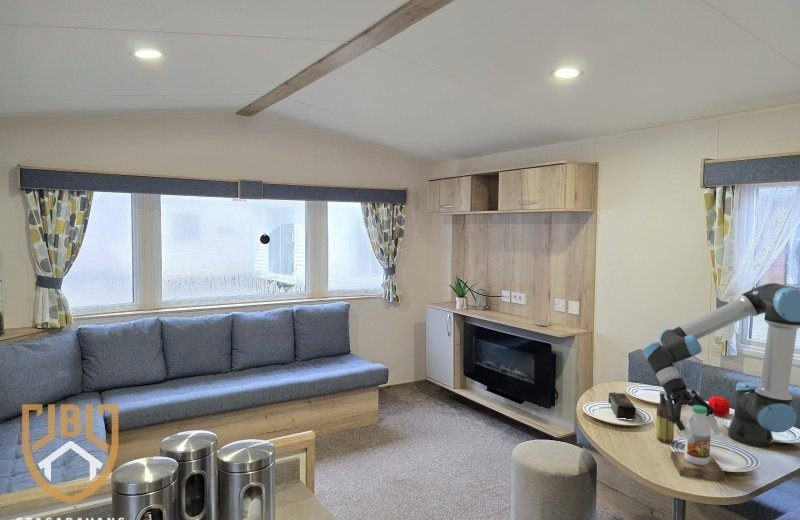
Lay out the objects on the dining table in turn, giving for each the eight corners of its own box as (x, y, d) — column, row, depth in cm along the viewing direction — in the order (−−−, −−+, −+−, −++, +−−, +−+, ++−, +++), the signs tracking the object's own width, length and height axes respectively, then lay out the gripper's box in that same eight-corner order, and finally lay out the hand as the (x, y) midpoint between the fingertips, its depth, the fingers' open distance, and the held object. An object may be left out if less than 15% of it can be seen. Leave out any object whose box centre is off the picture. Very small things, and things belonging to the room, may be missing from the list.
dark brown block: (625, 405, 246) (626, 392, 245) (635, 421, 227) (636, 407, 226) (607, 404, 247) (608, 390, 246) (616, 420, 228) (617, 405, 228)
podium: (712, 462, 190) (712, 454, 190) (725, 481, 176) (725, 472, 176) (670, 457, 194) (670, 449, 193) (680, 475, 180) (680, 467, 180)
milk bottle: (679, 457, 187) (682, 404, 185) (695, 454, 190) (698, 401, 188) (698, 467, 180) (701, 412, 178) (714, 463, 182) (717, 409, 180)
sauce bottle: (671, 438, 210) (673, 390, 208) (675, 444, 204) (677, 396, 202) (653, 436, 212) (656, 389, 210) (657, 442, 206) (659, 394, 204)
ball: (708, 415, 233) (709, 399, 232) (707, 409, 240) (708, 393, 239) (729, 419, 229) (730, 402, 228) (728, 413, 236) (729, 396, 235)
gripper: (689, 382, 201) (722, 435, 189) (639, 389, 193) (670, 445, 180) (702, 373, 196) (737, 426, 183) (651, 380, 187) (684, 437, 175)
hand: (704, 436), depth 182 cm, fingers open, 13 cm apart
